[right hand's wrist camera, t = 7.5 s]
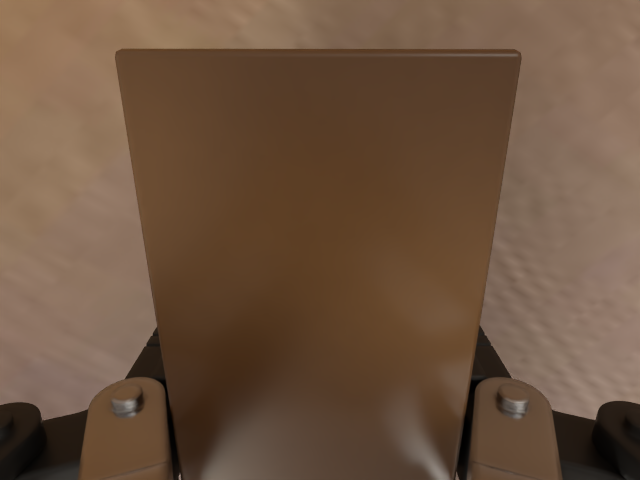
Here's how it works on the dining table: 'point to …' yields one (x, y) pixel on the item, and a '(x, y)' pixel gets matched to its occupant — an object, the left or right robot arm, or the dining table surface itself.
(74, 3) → the dining table surface
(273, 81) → the beam
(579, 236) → the dining table surface
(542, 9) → the dining table surface
